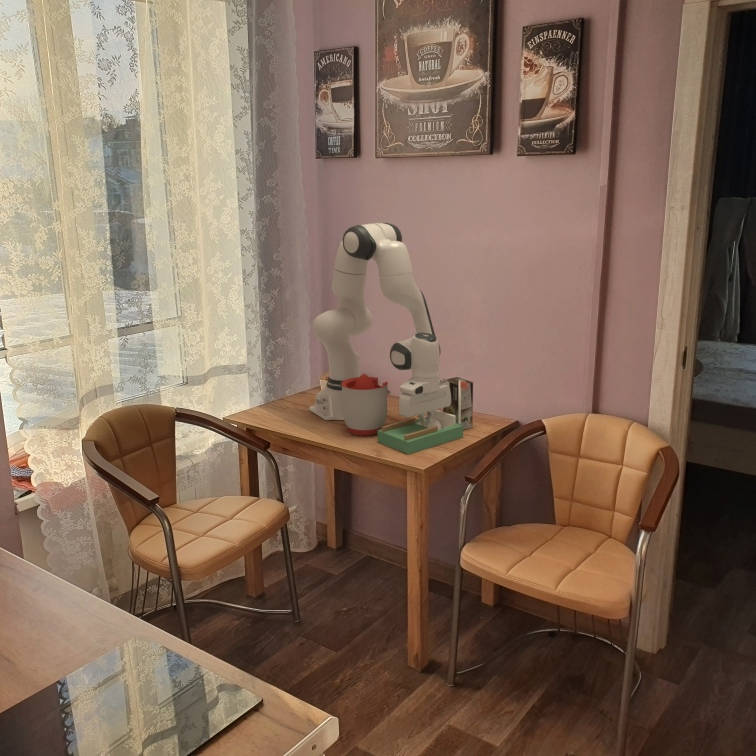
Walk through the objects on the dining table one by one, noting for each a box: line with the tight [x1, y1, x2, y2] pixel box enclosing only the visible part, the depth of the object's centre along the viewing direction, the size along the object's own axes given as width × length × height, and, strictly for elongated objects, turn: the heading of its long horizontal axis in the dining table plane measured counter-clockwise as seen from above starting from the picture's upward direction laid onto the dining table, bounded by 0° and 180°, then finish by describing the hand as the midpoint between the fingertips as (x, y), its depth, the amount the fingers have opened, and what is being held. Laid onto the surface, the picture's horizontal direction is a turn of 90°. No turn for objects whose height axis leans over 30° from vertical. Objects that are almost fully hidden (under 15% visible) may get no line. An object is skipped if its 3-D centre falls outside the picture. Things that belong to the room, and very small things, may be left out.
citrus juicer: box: [341, 373, 391, 437], centre depth 261 cm, size 16×17×20 cm
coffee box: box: [442, 377, 474, 431], centre depth 265 cm, size 9×6×16 cm
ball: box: [426, 419, 441, 430], centre depth 258 cm, size 5×5×5 cm
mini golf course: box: [377, 381, 467, 455], centre depth 251 cm, size 17×24×19 cm
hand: (425, 424), depth 254 cm, fingers closed
